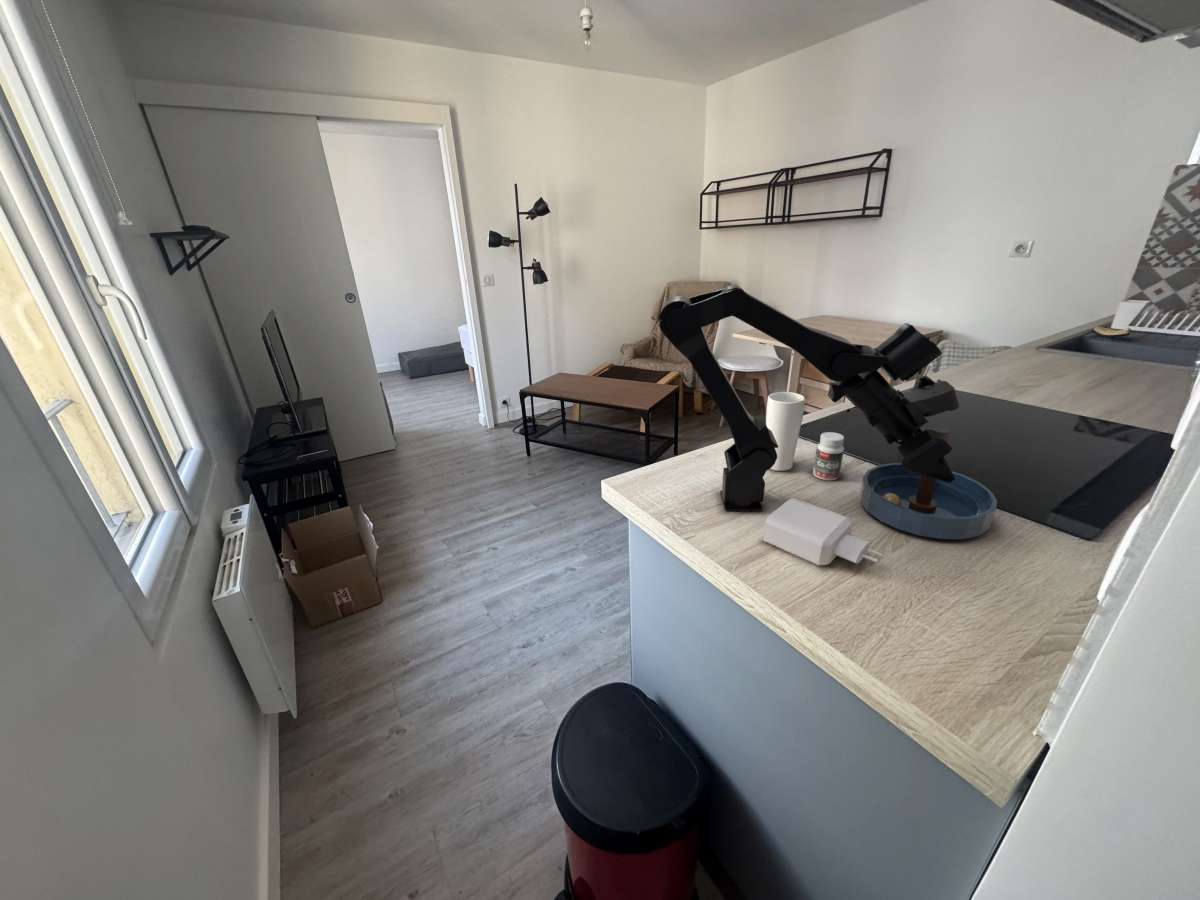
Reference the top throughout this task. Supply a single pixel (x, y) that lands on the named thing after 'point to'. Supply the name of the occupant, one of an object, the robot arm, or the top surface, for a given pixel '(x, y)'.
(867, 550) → the charger
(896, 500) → the bead
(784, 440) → the drinking glass
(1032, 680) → the top surface
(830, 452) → the pill bottle
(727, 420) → the robot arm
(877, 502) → the bowl
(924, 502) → the stirring stick
